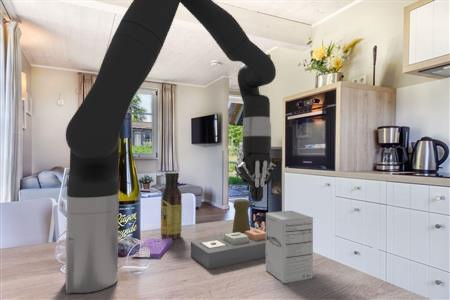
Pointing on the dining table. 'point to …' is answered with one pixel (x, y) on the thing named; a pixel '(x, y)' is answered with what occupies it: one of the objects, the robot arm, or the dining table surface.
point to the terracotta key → (256, 235)
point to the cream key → (213, 244)
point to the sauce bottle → (171, 207)
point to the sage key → (235, 238)
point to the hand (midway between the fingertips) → (257, 201)
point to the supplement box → (289, 246)
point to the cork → (241, 216)
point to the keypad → (227, 252)
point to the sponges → (157, 246)
